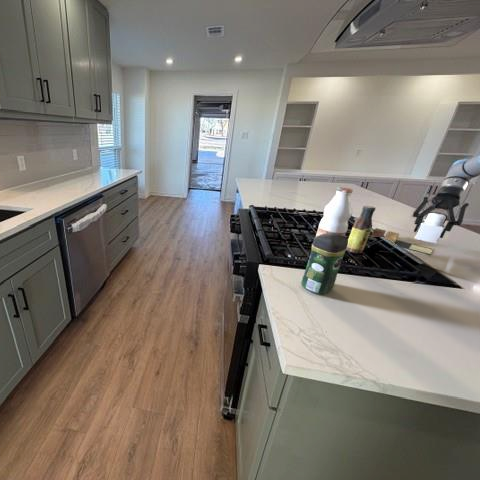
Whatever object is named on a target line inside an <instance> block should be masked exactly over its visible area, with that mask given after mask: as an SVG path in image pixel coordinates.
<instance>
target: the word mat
mask: <svg viewBox="0 0 480 480" xmlns="http://www.w3.org/2000/svg"><path fill="white" fill-rule="evenodd" d="M367 240H372V241H375V240H377V239H375V238H371V235H369V237H368V239H367ZM395 244H397V245H398V246H399V247H398V246H397V247H398V248H402V249H406V250H409V251H413V252H417V253H421V254H423V255H428V256H431V254H432V253H433V251H434V248H432V247H431V248H430V247H428V246H427V247H426V246H423V245H418V244H415V243H410V242H407V241H403V240H398V239H397V241H396V242H395Z"/></svg>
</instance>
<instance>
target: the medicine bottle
mask: <svg viewBox="0 0 480 480" xmlns="http://www.w3.org/2000/svg"><path fill="white" fill-rule="evenodd" d="M447 220H448V214H445V213H442V212H437V211H431V212H429V213H428V214H427V215H426V216H425V218H424V219H423V220H422V222H421V224H420V226H419V228H418V229H417V231H416V232H415V234H414V237H413V239H414V240H418V241H422V242H425V243H430V244H435V245H436V244H438V242H439V240H440V239H441V238H440V236H441V234H442V232H443V230H444V228H445V226H446V224H445V223H446V221H447Z"/></svg>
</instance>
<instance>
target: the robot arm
mask: <svg viewBox="0 0 480 480" xmlns="http://www.w3.org/2000/svg"><path fill="white" fill-rule="evenodd" d="M479 176H480V154H479V155H476V156H474V157H473V158H464V159H458V160H456V161H455V162H453V163H452V165H451V166H450V168H449V169H448V172H447V174H446V176H445V177H444V179H443V181H442V183H441V185H440V187H439V189H438V190H437V192H436V194H435V196H434V197H427V196H424V197H423V198H422V199H423V200H422V202H421V203H420V204H419V206H418V207H417V208H416V209H414V212H413V213H412V217H413V218H415V220H414V223H413V224H414V225H415V227H414V229H413V232H414V233H417V230H418V228H419V226H420V224H421V222H422V221H424V217H426V216H427V214H428V213H429V212H434V211H435V210H436V209H438V210H443V211H446V213H447V216H448V217H447V220H448V221H447V223H446V224H445V227H444V230H443V232H442V234H441V236H440V238H439V239H443V238H444V236H445V234H446V233H447V232H451V231H452V229H453V227H454V226H457V227H460V226H461V225H462V224H463V220H464V217H465V212H466V210H467V209H468V207H469V205H470V204H469V203H468V202H465V203H463V202H461V199H462V197H463V195H464V193H465V191H466V189H467V188H468V185H469V183H470V182H471V180H472V179H474V178H476V177H479ZM430 202H431V203H432V204H431V205H430V206H428V207H427V208H425V207H426V205H427V204H429V203H430ZM456 207H458V208H459V212H458V215H457V218H456V219H457V220H456V219H455V212H454V208H456ZM424 208H425V209H424ZM423 209H424V210H423ZM422 210H423V211H422Z"/></svg>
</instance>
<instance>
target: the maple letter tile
mask: <svg viewBox="0 0 480 480" xmlns="http://www.w3.org/2000/svg"><path fill="white" fill-rule="evenodd" d="M399 236H400V233H398V232H393V231H391V230H389V231H386V232H385V235H384V237H385V238H386V239H388V240H390V241H392V242H394V243H395V242H396V241H397V240H398V239H399Z"/></svg>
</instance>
